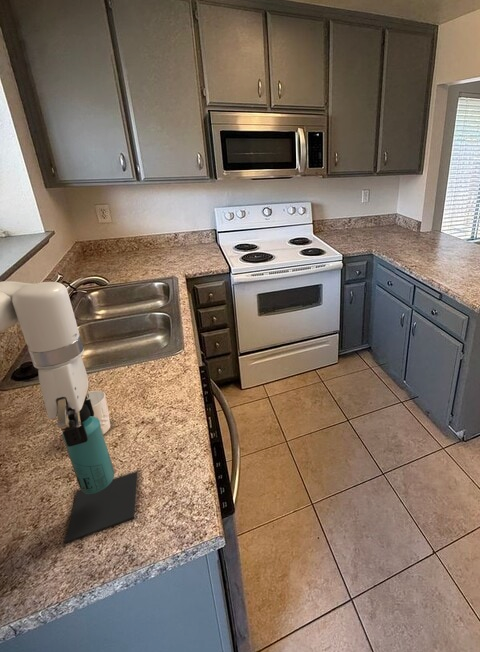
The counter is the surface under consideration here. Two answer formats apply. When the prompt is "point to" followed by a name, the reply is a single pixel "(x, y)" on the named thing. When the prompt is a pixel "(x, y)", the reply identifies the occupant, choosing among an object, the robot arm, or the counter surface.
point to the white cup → (100, 409)
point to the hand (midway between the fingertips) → (81, 429)
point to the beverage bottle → (91, 456)
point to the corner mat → (103, 508)
